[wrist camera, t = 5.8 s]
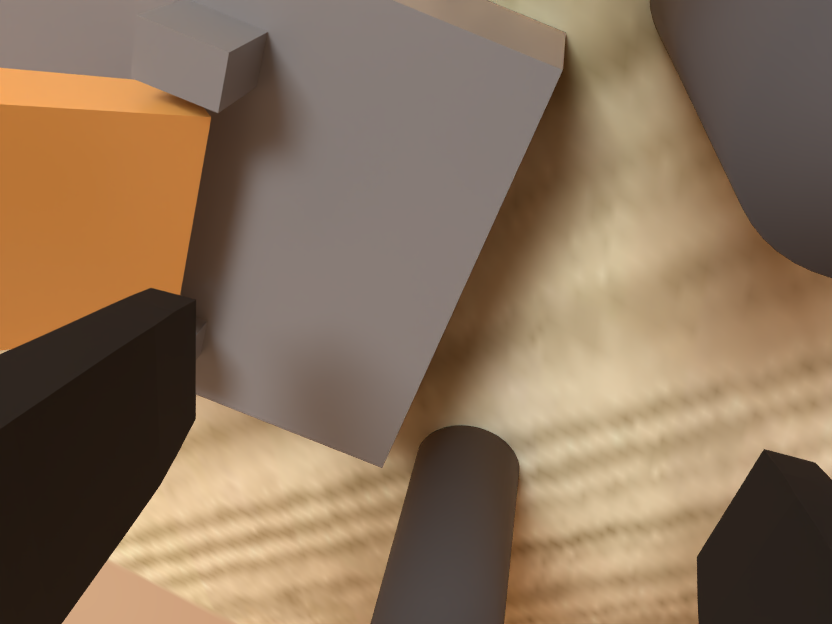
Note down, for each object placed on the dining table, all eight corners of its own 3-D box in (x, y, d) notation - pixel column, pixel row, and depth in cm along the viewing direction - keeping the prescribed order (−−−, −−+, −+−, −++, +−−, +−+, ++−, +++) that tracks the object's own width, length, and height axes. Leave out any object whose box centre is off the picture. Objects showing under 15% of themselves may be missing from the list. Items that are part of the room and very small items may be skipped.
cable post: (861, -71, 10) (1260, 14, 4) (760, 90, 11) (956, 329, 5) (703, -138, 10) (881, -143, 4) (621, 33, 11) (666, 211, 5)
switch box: (565, 32, 11) (560, 96, 8) (407, 388, 16) (365, 519, 13) (35, -186, 11) (-180, -206, 8) (26, 236, 16) (-114, 330, 12)
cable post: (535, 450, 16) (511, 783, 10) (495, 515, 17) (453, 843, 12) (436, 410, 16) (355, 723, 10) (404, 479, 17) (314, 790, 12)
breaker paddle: (211, 117, 10) (-221, 90, 7) (173, 328, 12) (-170, 371, 9) (186, 83, 10) (-222, 48, 8) (155, 291, 12) (-173, 320, 10)
